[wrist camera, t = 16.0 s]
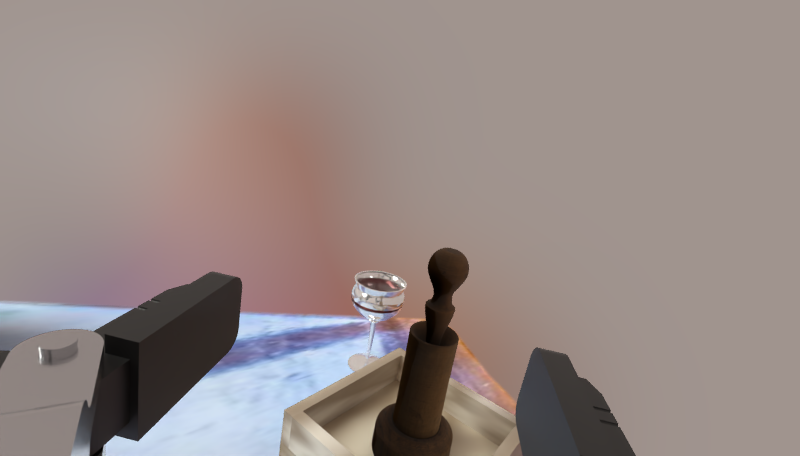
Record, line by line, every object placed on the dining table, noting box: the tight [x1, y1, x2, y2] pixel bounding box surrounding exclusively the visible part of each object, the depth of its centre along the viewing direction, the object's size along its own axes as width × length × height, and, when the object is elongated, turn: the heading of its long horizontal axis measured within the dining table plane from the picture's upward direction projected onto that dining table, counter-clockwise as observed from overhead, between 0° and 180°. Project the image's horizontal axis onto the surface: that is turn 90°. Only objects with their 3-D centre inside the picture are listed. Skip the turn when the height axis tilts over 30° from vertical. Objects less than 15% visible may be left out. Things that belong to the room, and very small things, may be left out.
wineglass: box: [348, 271, 407, 372], centre depth 52 cm, size 7×7×12 cm
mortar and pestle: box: [372, 248, 469, 456], centre depth 32 cm, size 7×6×18 cm
